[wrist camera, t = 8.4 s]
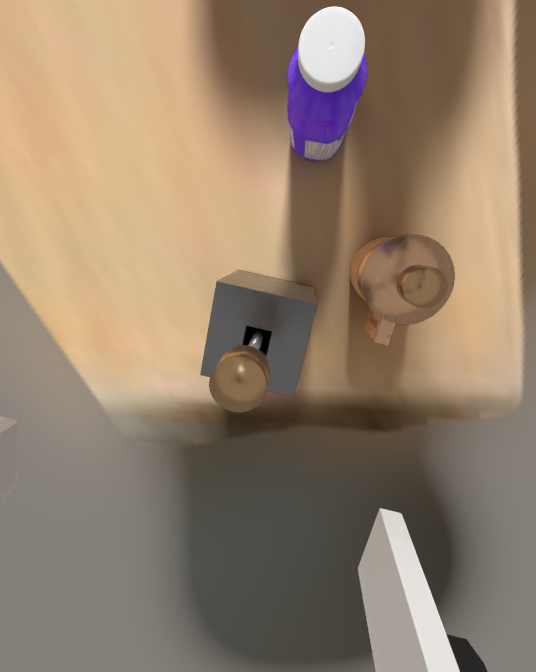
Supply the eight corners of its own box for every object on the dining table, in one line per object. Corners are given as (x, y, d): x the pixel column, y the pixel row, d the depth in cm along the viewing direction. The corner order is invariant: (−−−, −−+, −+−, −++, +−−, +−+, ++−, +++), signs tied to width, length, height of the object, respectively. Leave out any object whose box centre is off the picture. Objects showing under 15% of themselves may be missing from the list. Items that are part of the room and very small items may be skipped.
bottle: (336, 169, 39) (363, 118, 23) (285, 159, 40) (274, 101, 23) (353, 94, 37) (396, -22, 21) (299, 84, 38) (299, -40, 21)
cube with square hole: (238, 269, 43) (216, 281, 32) (312, 286, 43) (317, 304, 31) (221, 362, 46) (195, 404, 35) (289, 378, 46) (286, 425, 35)
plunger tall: (241, 284, 40) (193, 322, 22) (301, 298, 40) (303, 348, 22) (230, 341, 42) (177, 421, 24) (287, 354, 42) (278, 445, 23)
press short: (359, 228, 41) (390, 223, 27) (428, 244, 41) (497, 246, 27) (334, 318, 44) (351, 355, 30) (399, 332, 43) (447, 377, 29)
